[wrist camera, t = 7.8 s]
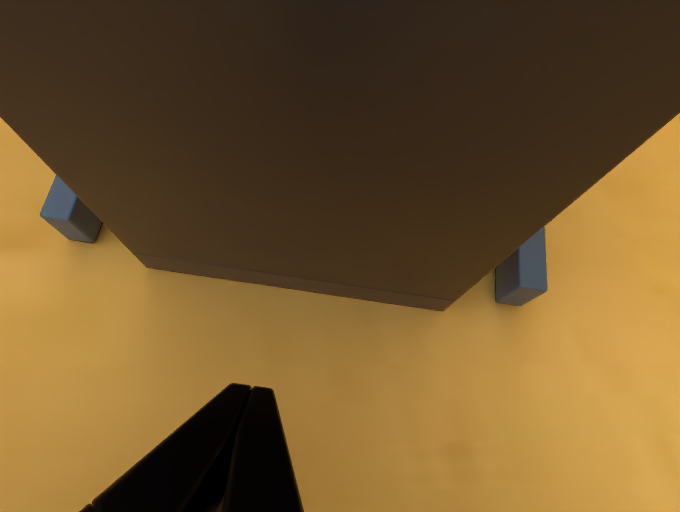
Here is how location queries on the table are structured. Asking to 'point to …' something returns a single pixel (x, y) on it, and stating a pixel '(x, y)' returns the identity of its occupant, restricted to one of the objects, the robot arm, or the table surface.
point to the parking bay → (511, 274)
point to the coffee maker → (336, 127)
